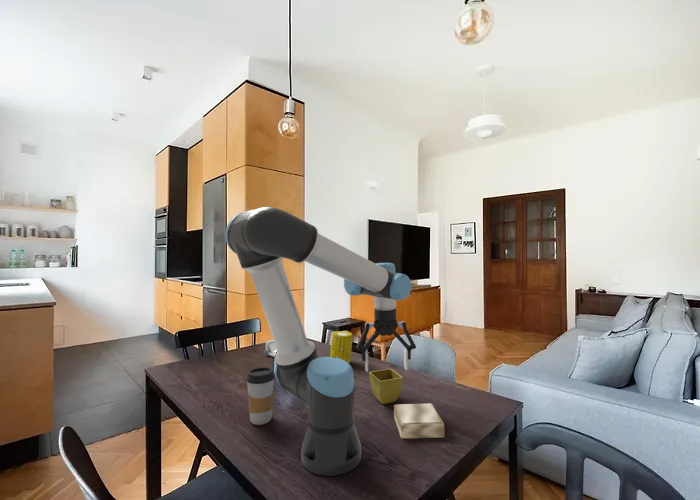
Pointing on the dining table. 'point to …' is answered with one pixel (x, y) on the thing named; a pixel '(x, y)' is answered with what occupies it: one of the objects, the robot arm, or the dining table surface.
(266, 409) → the coffee cup
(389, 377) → the flower pot
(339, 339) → the food
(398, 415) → the cream square block
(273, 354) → the toy car
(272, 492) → the dining table surface
